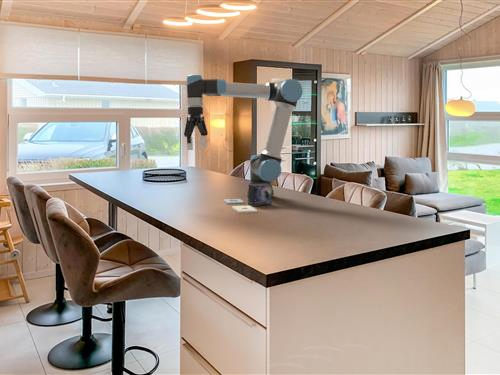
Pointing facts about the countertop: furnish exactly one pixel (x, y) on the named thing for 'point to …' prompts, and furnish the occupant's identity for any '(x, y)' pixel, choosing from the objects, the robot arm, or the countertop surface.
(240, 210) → the pad
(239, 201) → the pad
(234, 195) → the countertop surface
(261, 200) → the small box
